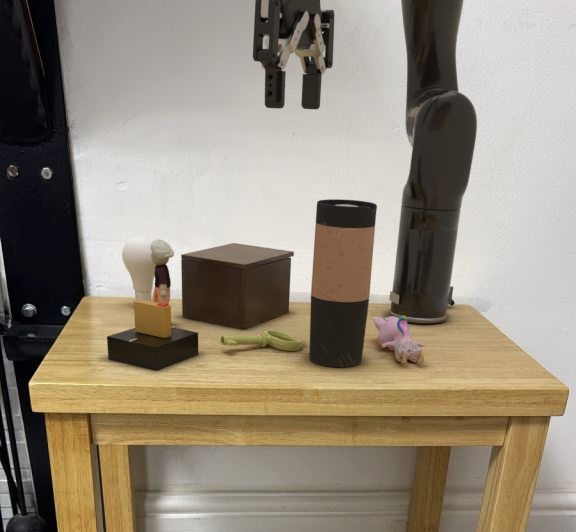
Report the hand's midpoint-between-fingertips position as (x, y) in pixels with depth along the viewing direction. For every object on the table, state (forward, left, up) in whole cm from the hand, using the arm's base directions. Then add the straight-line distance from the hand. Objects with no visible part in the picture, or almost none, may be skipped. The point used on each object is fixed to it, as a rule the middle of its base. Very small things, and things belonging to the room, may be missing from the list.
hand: (292, 108), depth 91 cm
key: (-3, -5, -30) cm, 31 cm away
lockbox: (-16, -18, -30) cm, 39 cm away
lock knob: (+10, -14, -27) cm, 32 cm away
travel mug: (-4, +6, -30) cm, 31 cm away
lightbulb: (-11, -33, -30) cm, 46 cm away
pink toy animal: (-13, +11, -30) cm, 35 cm away
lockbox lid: (-16, -18, -21) cm, 32 cm away
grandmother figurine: (-2, -22, -30) cm, 37 cm away
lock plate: (+10, -14, -30) cm, 35 cm away
